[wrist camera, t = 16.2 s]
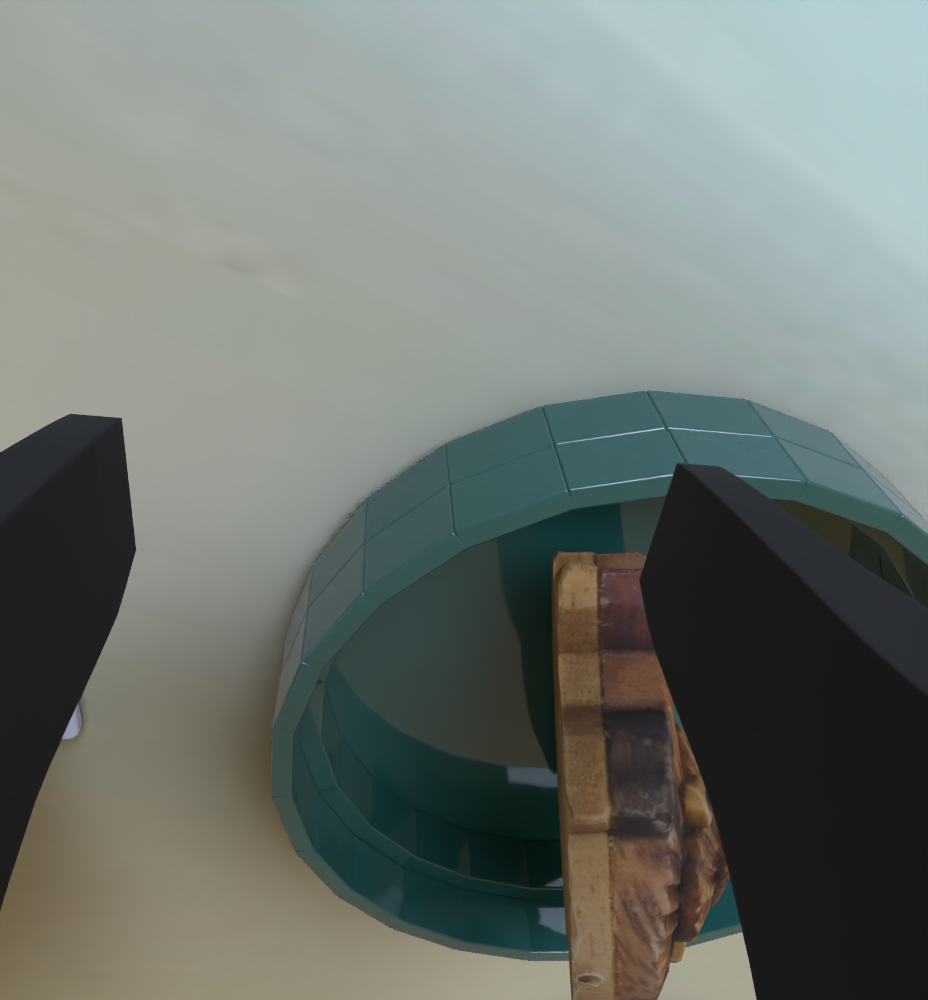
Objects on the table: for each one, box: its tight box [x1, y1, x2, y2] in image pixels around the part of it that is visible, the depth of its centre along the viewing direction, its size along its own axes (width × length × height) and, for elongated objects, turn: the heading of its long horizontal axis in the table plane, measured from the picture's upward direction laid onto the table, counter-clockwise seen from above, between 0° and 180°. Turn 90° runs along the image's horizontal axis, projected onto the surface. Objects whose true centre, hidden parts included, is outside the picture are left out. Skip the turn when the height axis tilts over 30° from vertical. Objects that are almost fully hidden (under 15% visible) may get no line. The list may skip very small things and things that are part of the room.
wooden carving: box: [551, 551, 730, 1000], centre depth 23 cm, size 16×5×10 cm, turn 10°
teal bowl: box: [271, 391, 928, 961], centre depth 26 cm, size 21×21×4 cm
